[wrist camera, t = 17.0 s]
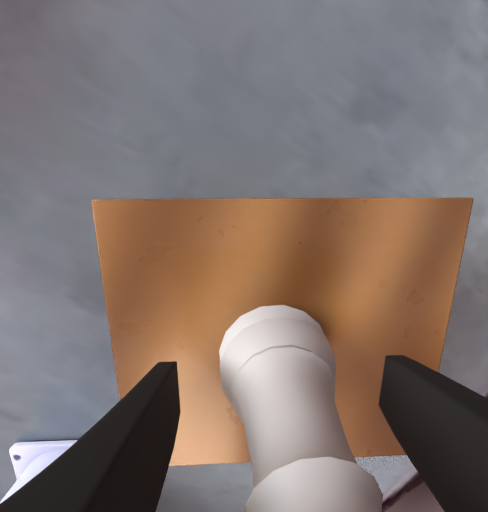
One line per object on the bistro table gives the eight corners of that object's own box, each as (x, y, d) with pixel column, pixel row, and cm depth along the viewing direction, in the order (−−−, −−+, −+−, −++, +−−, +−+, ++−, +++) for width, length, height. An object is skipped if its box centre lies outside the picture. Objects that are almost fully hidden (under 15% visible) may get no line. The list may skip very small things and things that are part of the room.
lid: (460, 197, 10) (474, 197, 9) (413, 442, 13) (422, 454, 12) (99, 199, 9) (90, 199, 9) (133, 455, 12) (128, 468, 11)
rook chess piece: (312, 287, 10) (635, 639, 2) (332, 378, 11) (593, 852, 3) (206, 315, 10) (99, 762, 2) (235, 403, 11) (238, 927, 3)
